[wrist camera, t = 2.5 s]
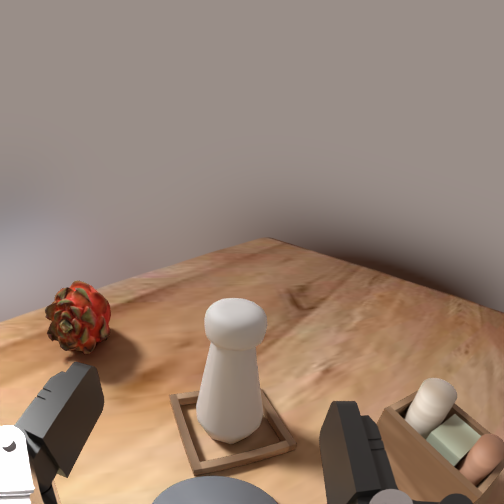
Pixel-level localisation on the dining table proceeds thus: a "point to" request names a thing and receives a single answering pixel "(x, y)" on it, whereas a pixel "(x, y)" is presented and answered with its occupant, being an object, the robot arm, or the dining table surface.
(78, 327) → the dragon fruit
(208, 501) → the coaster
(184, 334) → the dining table surface
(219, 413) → the salt shaker
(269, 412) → the holder
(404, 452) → the caddy
